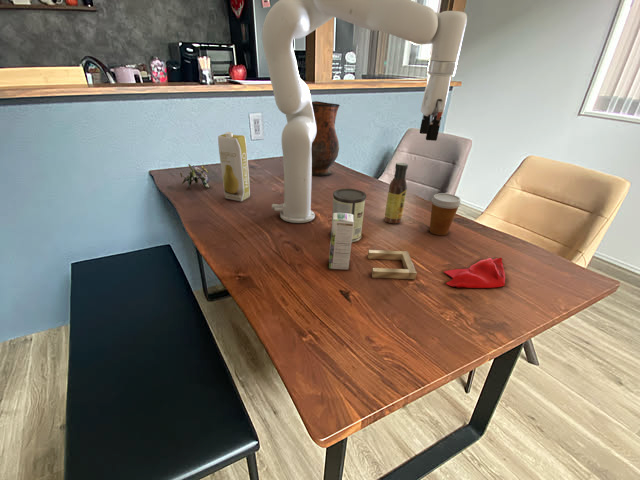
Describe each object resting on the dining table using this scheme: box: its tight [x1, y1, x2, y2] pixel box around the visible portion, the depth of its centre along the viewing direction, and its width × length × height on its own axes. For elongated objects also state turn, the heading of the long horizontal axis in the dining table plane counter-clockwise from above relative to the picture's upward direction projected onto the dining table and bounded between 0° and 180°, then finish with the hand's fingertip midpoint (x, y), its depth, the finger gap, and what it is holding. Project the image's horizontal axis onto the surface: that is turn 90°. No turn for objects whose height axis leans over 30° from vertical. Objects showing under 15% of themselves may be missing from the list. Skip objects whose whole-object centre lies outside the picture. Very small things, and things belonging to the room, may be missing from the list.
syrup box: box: [328, 213, 354, 271], centre depth 101 cm, size 6×6×14 cm
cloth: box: [443, 257, 506, 289], centre depth 103 cm, size 26×14×2 cm, turn 120°
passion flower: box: [179, 163, 210, 189], centre depth 151 cm, size 11×11×12 cm
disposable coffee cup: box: [428, 192, 462, 236], centre depth 124 cm, size 10×10×12 cm
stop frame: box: [367, 249, 418, 280], centre depth 105 cm, size 12×13×2 cm
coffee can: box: [330, 188, 367, 243], centre depth 117 cm, size 10×10×14 cm
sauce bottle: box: [384, 162, 409, 224], centre depth 128 cm, size 7×6×20 cm
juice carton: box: [217, 131, 251, 202], centre depth 139 cm, size 9×8×24 cm
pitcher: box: [311, 100, 341, 177], centre depth 168 cm, size 17×21×30 cm
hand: (427, 136), depth 112 cm, fingers open, 9 cm apart
